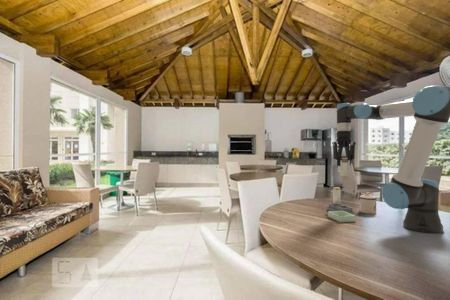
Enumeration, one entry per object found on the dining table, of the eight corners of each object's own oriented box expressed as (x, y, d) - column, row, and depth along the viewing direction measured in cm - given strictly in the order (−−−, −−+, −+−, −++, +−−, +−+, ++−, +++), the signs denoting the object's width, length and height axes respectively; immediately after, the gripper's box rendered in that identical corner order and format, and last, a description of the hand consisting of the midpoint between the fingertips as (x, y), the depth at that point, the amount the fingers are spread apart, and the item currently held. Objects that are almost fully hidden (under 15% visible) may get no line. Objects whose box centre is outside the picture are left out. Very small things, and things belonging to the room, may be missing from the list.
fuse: (341, 208, 160) (341, 188, 160) (335, 208, 159) (335, 188, 159) (337, 206, 164) (337, 187, 164) (331, 207, 163) (331, 187, 163)
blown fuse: (349, 177, 153) (349, 156, 153) (342, 177, 152) (342, 156, 152) (344, 176, 157) (344, 156, 157) (338, 176, 156) (338, 156, 156)
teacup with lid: (378, 214, 153) (378, 194, 153) (360, 213, 156) (360, 193, 156) (374, 210, 164) (374, 190, 164) (357, 209, 167) (357, 190, 167)
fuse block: (353, 215, 152) (353, 207, 152) (340, 215, 151) (340, 208, 151) (339, 209, 166) (339, 202, 166) (327, 209, 165) (327, 203, 165)
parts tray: (355, 221, 139) (355, 215, 139) (339, 222, 137) (339, 216, 137) (343, 216, 149) (343, 210, 149) (327, 216, 148) (327, 211, 148)
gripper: (353, 131, 160) (353, 171, 160) (326, 131, 157) (326, 171, 157) (361, 130, 152) (361, 172, 152) (333, 130, 149) (333, 172, 150)
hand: (343, 171), depth 155 cm, fingers closed on blown fuse, 4 cm apart
